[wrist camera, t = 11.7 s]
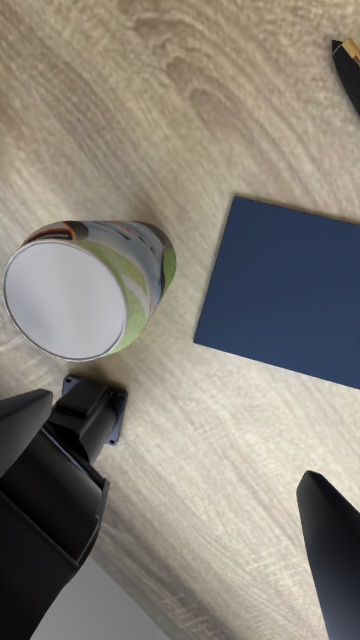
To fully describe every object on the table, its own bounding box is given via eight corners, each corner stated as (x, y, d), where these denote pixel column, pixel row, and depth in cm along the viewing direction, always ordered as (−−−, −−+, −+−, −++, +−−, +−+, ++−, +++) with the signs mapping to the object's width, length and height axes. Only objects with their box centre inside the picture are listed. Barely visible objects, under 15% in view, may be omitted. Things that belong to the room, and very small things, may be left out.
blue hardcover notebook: (423, 406, 19) (428, 409, 19) (193, 341, 21) (193, 343, 20) (512, 263, 16) (520, 263, 16) (233, 197, 17) (234, 195, 17)
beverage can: (164, 213, 18) (86, 131, 7) (192, 300, 20) (166, 355, 8) (95, 239, 20) (-69, 209, 8) (126, 320, 21) (23, 392, 10)
